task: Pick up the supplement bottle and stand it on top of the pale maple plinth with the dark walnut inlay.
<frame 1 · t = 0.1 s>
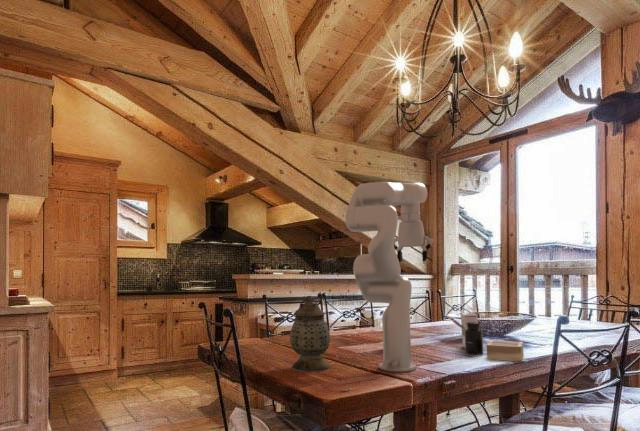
hand: (412, 261, 189), 37 cm above the table, tool pointing down, fingers open, 9 cm apart
supplement bottle: (474, 353, 190), on the table
plinth: (505, 356, 181), on the table
lantern: (310, 368, 166), on the table
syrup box: (470, 348, 201), on the table
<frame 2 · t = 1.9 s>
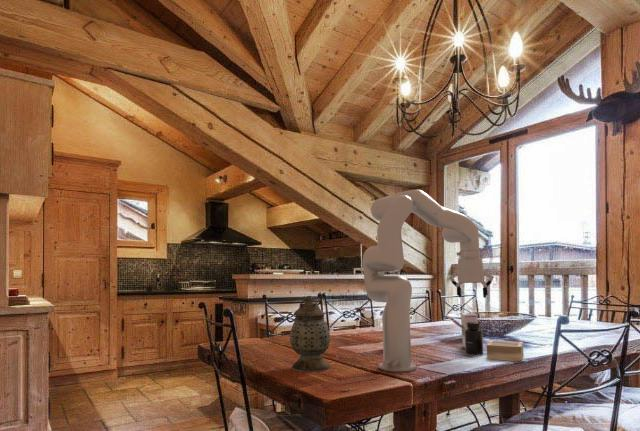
hand: (472, 297, 192), 22 cm above the table, tool pointing down, fingers open, 9 cm apart
nothing on the table moved.
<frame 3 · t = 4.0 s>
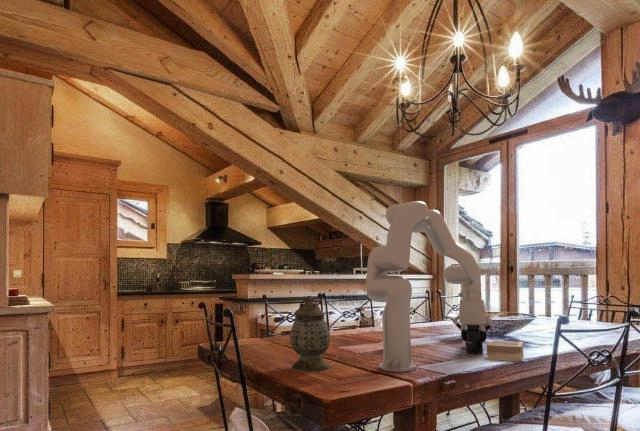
hand: (473, 340, 190), 5 cm above the table, tool pointing down, fingers closed on supplement bottle, 6 cm apart
supplement bottle: (474, 353, 190), on the table, touching gripper
everything else where it was.
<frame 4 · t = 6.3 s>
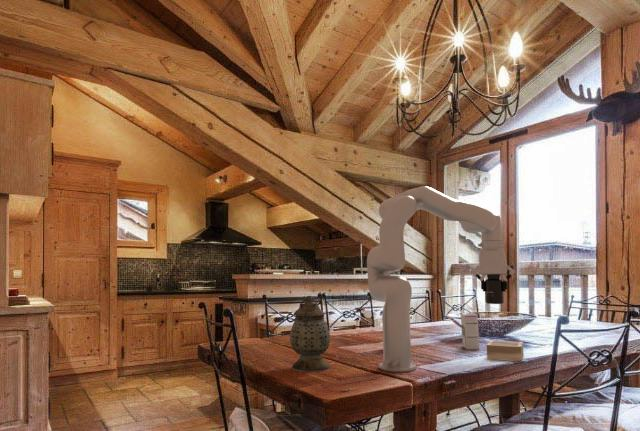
hand: (494, 291, 186), 25 cm above the table, tool pointing down, fingers closed on supplement bottle, 6 cm apart
supplement bottle: (494, 304, 185), point 20 cm above the table, touching gripper
everything else where it was.
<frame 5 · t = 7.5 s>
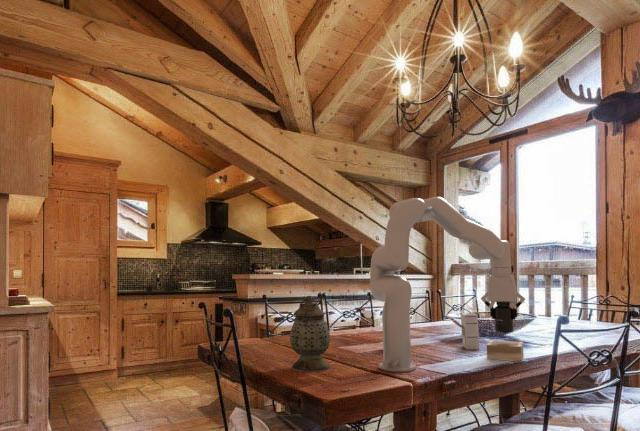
hand: (503, 318, 183), 14 cm above the table, tool pointing down, fingers closed on supplement bottle, 6 cm apart
supplement bottle: (504, 331, 182), point 9 cm above the table, touching gripper
everything else where it was.
when the fingers open (11 cm above the table, at t = 8.7 s): supplement bottle stays where it is, resting on plinth.
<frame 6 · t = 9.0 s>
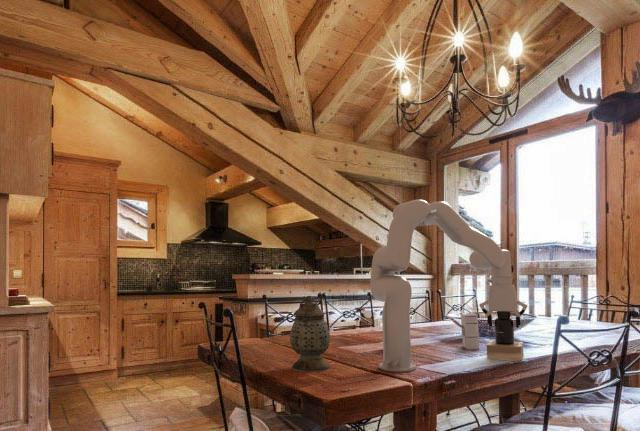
hand: (504, 326, 182), 11 cm above the table, tool pointing down, fingers open, 9 cm apart
supplement bottle: (505, 343, 181), point 5 cm above the table, touching plinth
everything else where it was.
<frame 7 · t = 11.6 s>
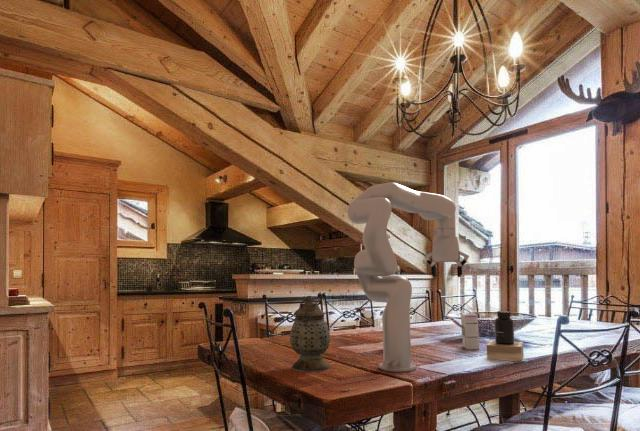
hand: (446, 276, 188), 30 cm above the table, tool pointing down, fingers open, 9 cm apart
nothing on the table moved.
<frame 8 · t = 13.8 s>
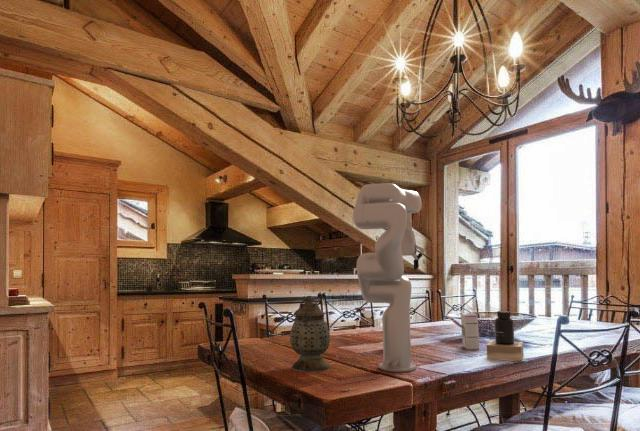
hand: (404, 270, 192), 33 cm above the table, tool pointing down, fingers open, 9 cm apart
nothing on the table moved.
at the end: supplement bottle inside the target area on the plinth (0.1 cm from its centre), point 4.9 cm above the plinth's base; supplement bottle tilted 0°; the gripper is holding nothing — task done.
